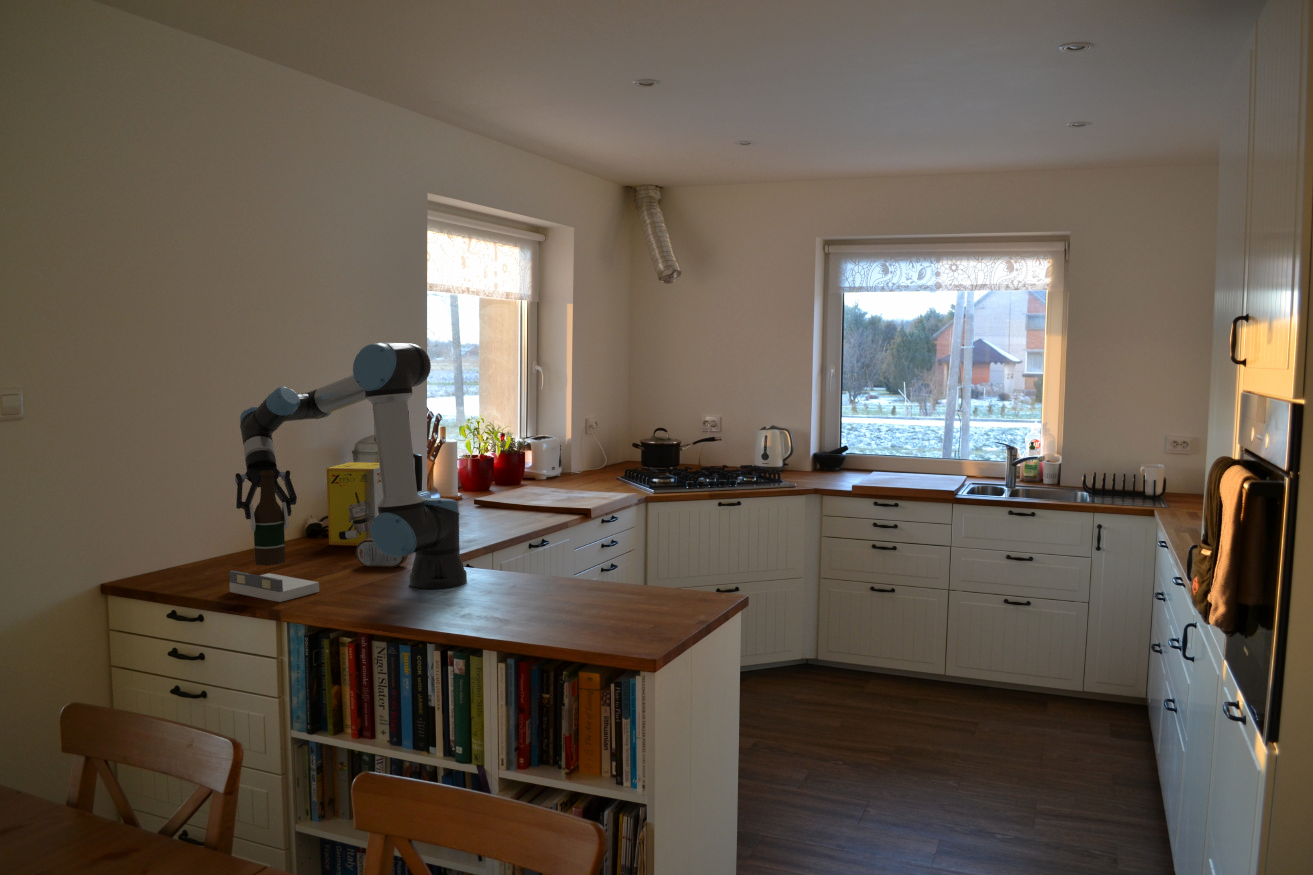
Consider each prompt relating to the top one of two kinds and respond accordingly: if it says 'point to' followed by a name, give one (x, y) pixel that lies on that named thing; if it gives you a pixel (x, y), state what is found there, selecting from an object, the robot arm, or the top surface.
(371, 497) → the packaging box
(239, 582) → the grey slab
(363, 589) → the top surface
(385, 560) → the tin
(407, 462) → the robot arm
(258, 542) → the beer bottle
